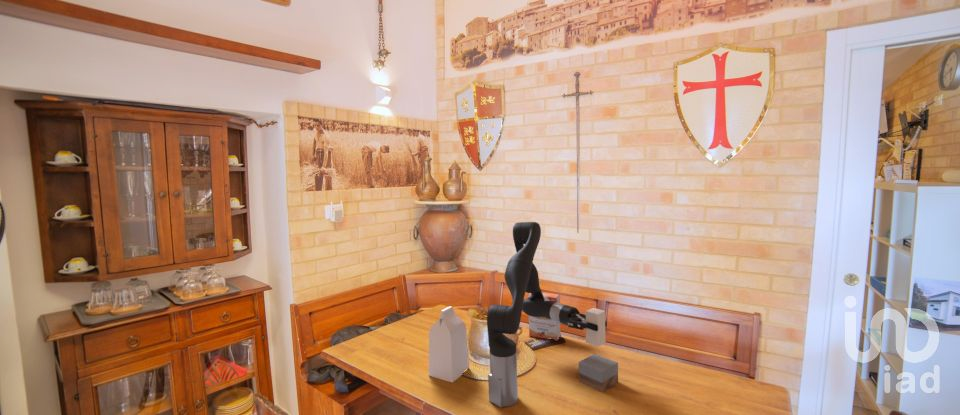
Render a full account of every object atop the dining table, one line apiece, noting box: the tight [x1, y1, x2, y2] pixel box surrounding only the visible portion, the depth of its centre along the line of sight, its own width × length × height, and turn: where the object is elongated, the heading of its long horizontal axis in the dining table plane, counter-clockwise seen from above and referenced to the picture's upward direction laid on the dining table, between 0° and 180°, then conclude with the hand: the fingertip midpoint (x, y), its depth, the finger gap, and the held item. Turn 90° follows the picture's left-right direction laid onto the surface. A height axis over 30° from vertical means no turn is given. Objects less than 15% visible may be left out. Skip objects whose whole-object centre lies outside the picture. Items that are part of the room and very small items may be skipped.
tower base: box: [578, 372, 619, 393], centre depth 145 cm, size 10×10×4 cm
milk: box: [428, 305, 470, 384], centre depth 155 cm, size 12×12×26 cm
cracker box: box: [528, 292, 561, 342], centre depth 186 cm, size 14×6×21 cm, turn 62°
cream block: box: [585, 307, 606, 348], centre depth 144 cm, size 5×5×12 cm
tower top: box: [578, 353, 619, 383], centre depth 144 cm, size 10×10×4 cm
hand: (601, 326), depth 142 cm, fingers closed on cream block, 5 cm apart
